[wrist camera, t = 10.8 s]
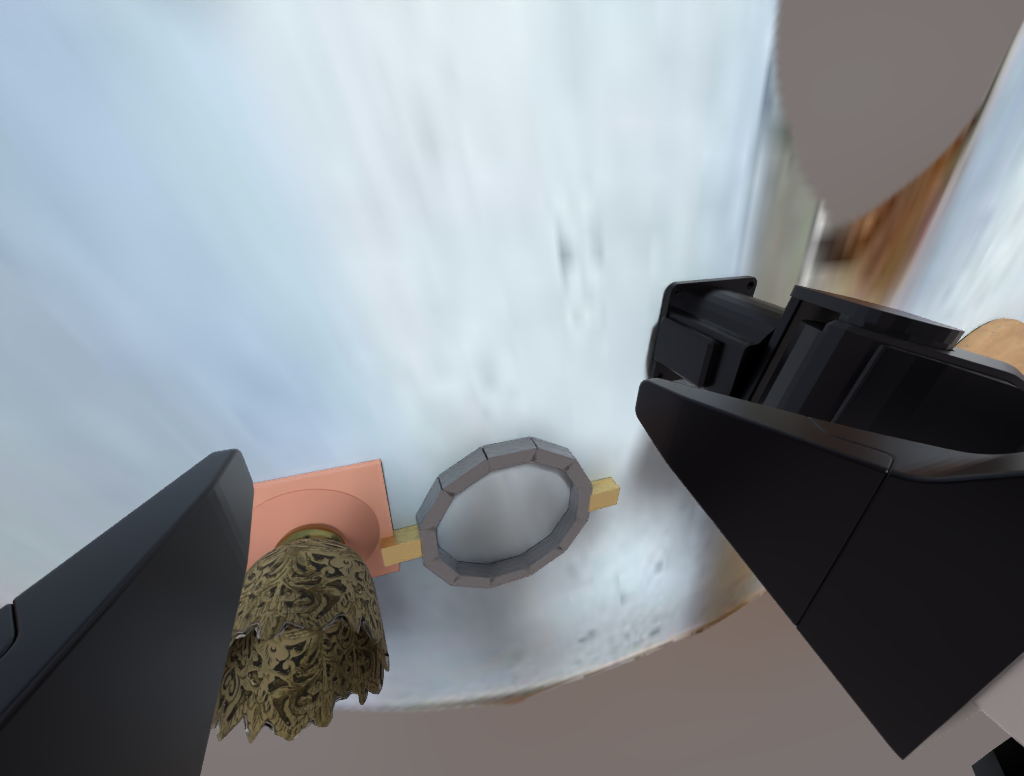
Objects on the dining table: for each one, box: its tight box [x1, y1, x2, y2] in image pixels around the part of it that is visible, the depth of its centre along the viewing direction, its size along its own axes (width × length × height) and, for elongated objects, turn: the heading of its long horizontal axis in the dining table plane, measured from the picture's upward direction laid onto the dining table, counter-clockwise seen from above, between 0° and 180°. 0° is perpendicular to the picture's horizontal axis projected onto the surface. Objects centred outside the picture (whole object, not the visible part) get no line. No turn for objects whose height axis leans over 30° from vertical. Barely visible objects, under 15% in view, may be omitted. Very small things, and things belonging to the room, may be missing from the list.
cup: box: [211, 524, 389, 743], centre depth 20 cm, size 8×7×8 cm
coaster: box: [246, 459, 400, 578], centre depth 24 cm, size 9×9×1 cm
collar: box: [380, 437, 620, 588], centre depth 28 cm, size 17×12×1 cm
